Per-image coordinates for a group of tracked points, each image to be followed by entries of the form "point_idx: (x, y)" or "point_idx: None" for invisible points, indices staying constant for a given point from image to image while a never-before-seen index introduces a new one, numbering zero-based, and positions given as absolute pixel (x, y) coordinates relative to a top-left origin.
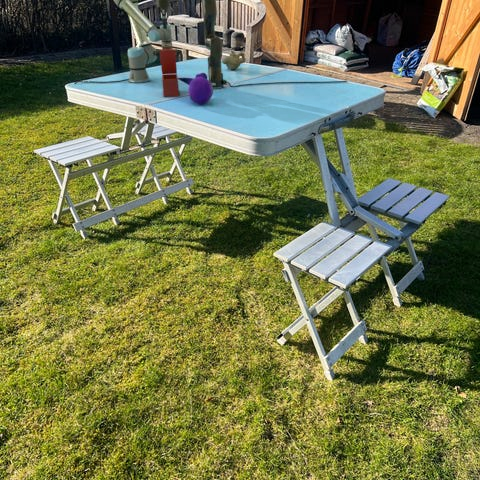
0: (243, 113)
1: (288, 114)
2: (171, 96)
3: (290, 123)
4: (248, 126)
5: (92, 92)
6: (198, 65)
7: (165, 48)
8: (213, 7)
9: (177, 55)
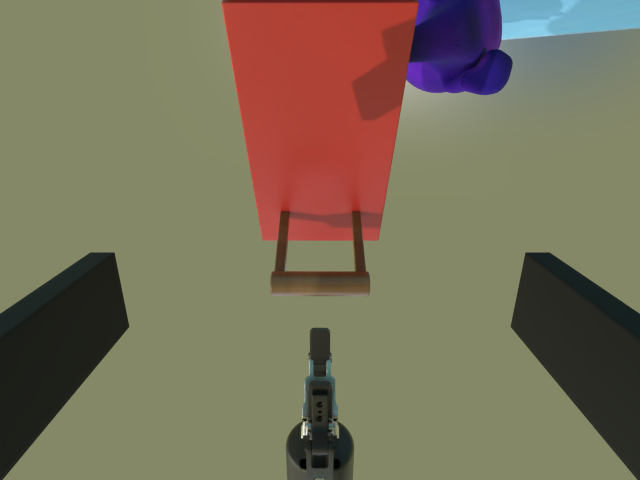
0: (511, 13)
1: (604, 20)
2: None
3: (546, 32)
4: None
5: None
6: None
7: (304, 271)
8: None
9: (527, 264)
